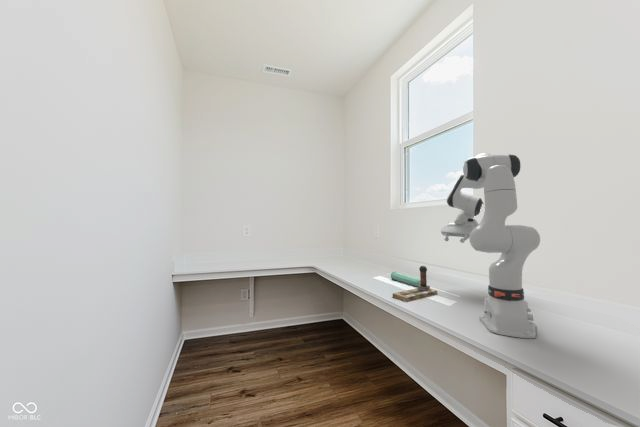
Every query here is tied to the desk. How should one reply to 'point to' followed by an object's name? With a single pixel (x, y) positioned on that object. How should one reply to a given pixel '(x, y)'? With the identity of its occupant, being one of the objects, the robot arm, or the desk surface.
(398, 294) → the wooden base board
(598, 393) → the desk surface
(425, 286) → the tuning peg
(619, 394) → the desk surface
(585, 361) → the desk surface
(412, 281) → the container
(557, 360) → the desk surface
